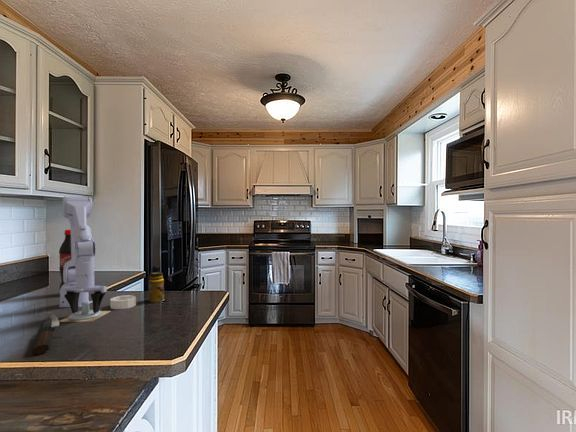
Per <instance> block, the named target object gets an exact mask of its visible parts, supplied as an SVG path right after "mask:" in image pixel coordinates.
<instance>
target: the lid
mask: <svg viewBox="0 0 576 432" xmlns="http://www.w3.org/2000/svg"><path fill="white" fill-rule="evenodd" d="M79 311H80V312H79ZM79 311H78V312H76V313H71V314H69V319H70V320H87V319H92V318H96V317H98V316H100V315H101V314H102V311H103V310H100V309H99V312H97V313H93V309H90V304H89V302H83V303H82V307H81V310H79Z"/></svg>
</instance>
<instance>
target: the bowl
mask: <svg viewBox="0 0 576 432" xmlns="http://www.w3.org/2000/svg"><path fill="white" fill-rule="evenodd" d="M109 304H110V309H112V310H124V309H125V310H126V309H130V308H133V307H136V306H137V297H136V295H133V294H129V295H127V294H124V295H118V296H114V297H111V298H110V303H109Z"/></svg>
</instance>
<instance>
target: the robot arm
mask: <svg viewBox="0 0 576 432" xmlns="http://www.w3.org/2000/svg"><path fill="white" fill-rule="evenodd" d="M61 202H62V216H63V218H65V219H67V220H68V221H69V224H70V225H69V226H70V230H71V260H70V261H68V262H67V263H65V264H64V270H63V281H64V283H65V284H64V285H62V287H61V289H60V288H59V306H58V307H59V308H70V310H71V314H73V313H76V312H79V308H82V303H83V302H89V305H90V304H91V303H92V310H93V313H97V312H99V310H100V308H101V304H102V301H103V299H104V297H105V295H106V293H107V291H108V287H107V285H96V284H95V257H96V253H97V247H96V245H97V244H96V241H95V239H94V238H93V235H92V228H91V227H90V226H89V225H88V222H87V218H90V216H91V213H92V210H93V199H92V197H90V196H88V197H87V196H86V197H85V196H84V197H83V196H79V197H78V196H63V197H62V201H61ZM71 266H76V267H73V268H69V267H71ZM90 293H91V294H90ZM89 294H90V295H89ZM89 297H91V300H89Z"/></svg>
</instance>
